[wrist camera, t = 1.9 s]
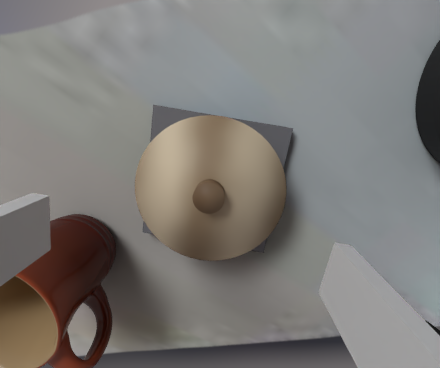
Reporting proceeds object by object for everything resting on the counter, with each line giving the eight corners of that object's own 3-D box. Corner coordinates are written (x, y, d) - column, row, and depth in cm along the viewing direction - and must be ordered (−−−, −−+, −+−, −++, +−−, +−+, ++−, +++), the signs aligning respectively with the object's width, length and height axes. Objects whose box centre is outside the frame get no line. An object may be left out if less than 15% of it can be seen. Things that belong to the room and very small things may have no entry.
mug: (28, 233, 25) (-104, 307, 15) (86, 186, 24) (-19, 235, 14) (106, 311, 27) (35, 420, 17) (164, 273, 26) (122, 369, 16)
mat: (290, 128, 21) (293, 128, 20) (262, 247, 24) (263, 252, 23) (156, 105, 21) (153, 105, 20) (146, 227, 24) (142, 232, 23)
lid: (292, 128, 20) (308, 130, 16) (263, 252, 23) (270, 279, 19) (153, 105, 20) (134, 101, 16) (142, 232, 23) (124, 255, 19)
